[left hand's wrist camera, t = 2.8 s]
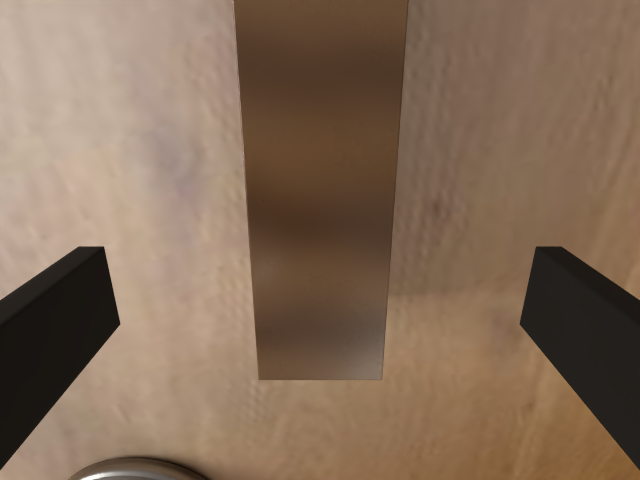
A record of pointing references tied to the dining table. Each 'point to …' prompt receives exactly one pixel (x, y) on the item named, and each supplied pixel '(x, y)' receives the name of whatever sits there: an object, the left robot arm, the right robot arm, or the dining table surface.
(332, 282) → the beam
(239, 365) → the dining table surface
